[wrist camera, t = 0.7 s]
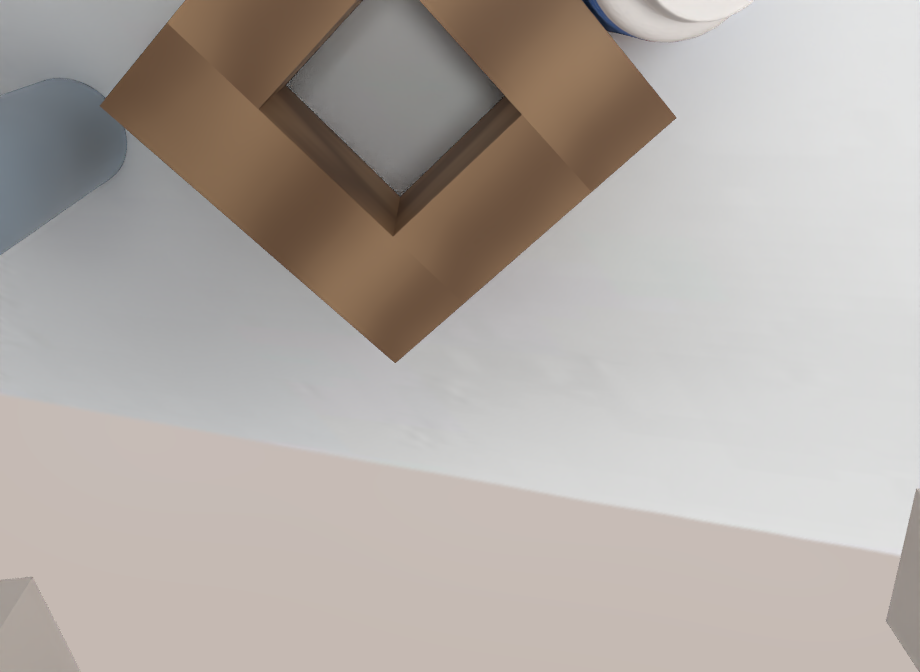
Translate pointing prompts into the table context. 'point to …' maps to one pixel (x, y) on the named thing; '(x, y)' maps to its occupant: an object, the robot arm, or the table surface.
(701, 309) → the table surface
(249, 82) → the socket block
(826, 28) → the table surface
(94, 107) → the peg
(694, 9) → the pill bottle
